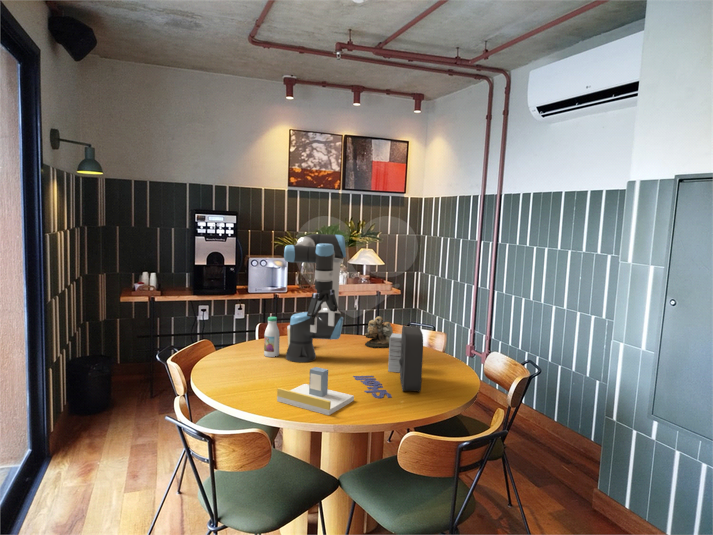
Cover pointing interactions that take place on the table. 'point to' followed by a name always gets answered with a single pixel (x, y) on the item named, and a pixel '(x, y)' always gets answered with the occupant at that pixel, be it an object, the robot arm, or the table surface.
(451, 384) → the table surface
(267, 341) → the milk bottle
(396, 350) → the supplement box
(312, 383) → the carton
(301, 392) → the display plank
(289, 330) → the coffee cup
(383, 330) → the owl figurine
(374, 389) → the signage
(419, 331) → the speaker
